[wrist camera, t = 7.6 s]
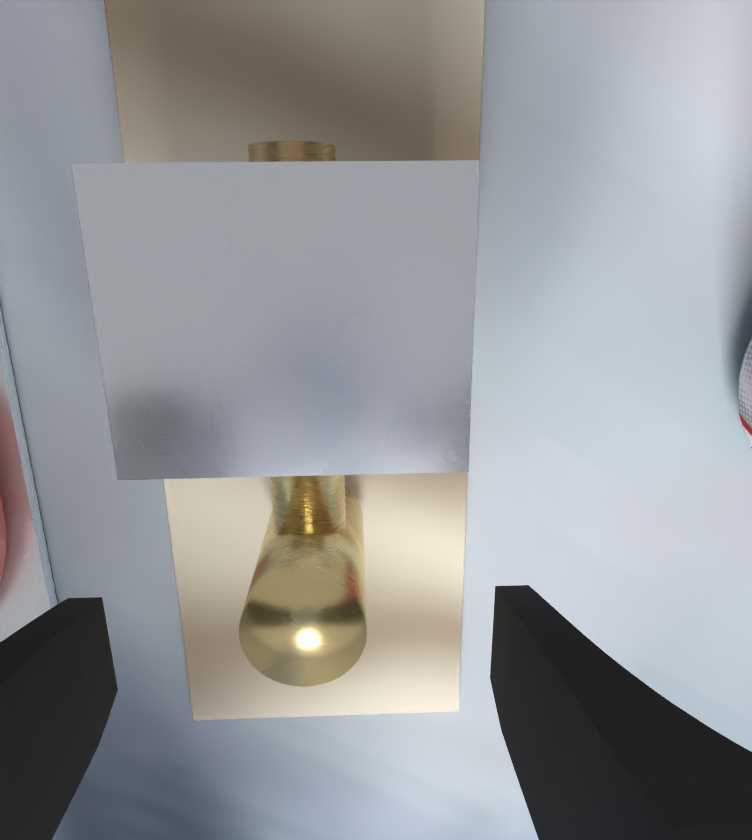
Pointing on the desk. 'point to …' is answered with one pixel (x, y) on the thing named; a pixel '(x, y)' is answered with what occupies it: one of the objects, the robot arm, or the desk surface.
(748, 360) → the soda can
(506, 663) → the robot arm
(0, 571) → the handwheel
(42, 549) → the wheel plate
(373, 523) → the birch base board
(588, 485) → the desk surface
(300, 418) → the block
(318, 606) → the hook rod
